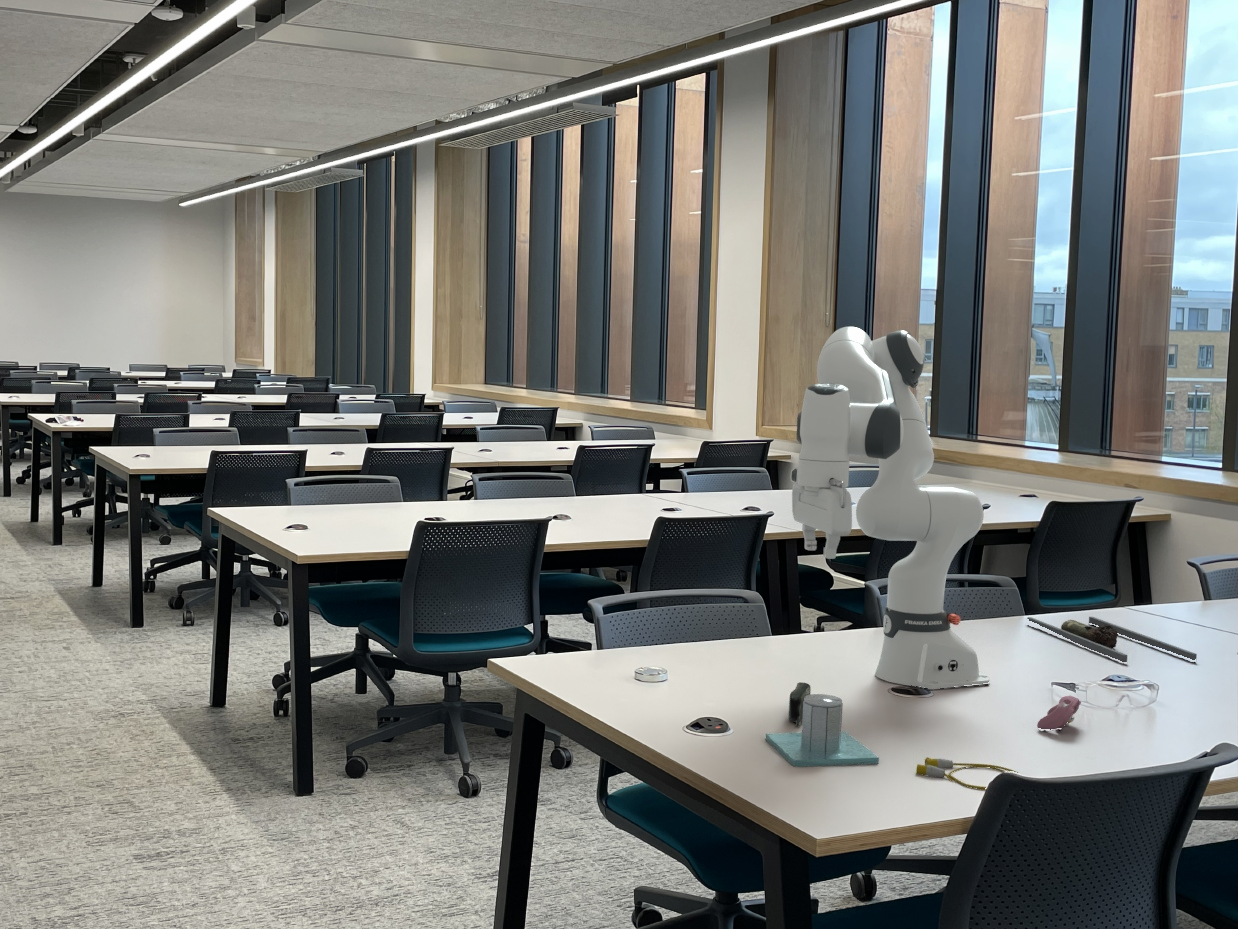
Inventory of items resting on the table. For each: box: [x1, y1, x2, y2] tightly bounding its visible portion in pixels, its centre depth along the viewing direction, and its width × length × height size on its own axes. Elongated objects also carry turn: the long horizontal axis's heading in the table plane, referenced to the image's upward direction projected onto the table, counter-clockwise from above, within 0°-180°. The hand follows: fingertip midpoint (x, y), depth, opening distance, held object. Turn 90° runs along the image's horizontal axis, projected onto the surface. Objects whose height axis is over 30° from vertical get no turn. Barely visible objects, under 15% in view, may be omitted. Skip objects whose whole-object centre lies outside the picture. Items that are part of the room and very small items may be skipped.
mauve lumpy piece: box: [1036, 695, 1082, 730], centre depth 218 cm, size 10×5×7 cm, turn 149°
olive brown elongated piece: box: [1060, 619, 1118, 650], centre depth 288 cm, size 18×7×6 cm, turn 10°
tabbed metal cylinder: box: [801, 693, 844, 751], centre depth 202 cm, size 10×6×8 cm, turn 161°
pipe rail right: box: [1088, 616, 1198, 660], centre depth 292 cm, size 1×40×2 cm, turn 11°
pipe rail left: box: [1026, 616, 1128, 663], centre depth 289 cm, size 1×40×2 cm, turn 11°
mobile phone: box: [788, 682, 812, 728], centre depth 220 cm, size 5×3×15 cm
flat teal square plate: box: [765, 730, 880, 767], centre depth 200 cm, size 14×14×6 cm
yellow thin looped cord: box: [915, 757, 1019, 791], centre depth 190 cm, size 12×16×2 cm
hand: (819, 554), depth 219 cm, fingers open, 8 cm apart
